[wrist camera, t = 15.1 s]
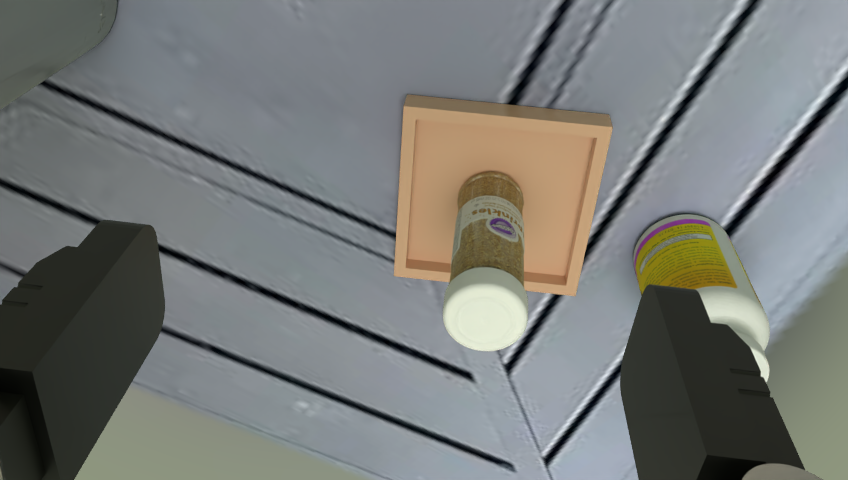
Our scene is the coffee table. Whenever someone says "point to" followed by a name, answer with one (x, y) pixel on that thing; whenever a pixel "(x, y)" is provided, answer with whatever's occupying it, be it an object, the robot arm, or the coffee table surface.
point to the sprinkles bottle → (487, 265)
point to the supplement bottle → (704, 275)
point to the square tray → (512, 156)
